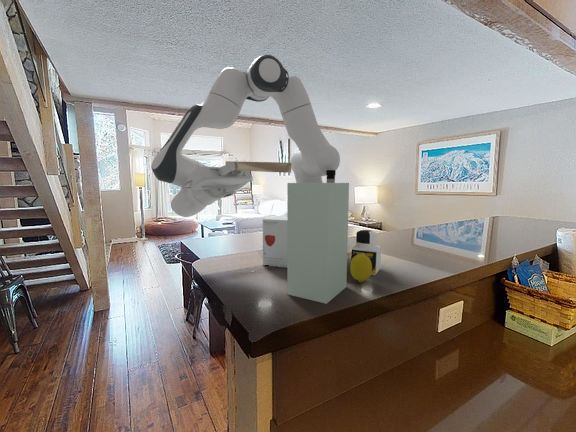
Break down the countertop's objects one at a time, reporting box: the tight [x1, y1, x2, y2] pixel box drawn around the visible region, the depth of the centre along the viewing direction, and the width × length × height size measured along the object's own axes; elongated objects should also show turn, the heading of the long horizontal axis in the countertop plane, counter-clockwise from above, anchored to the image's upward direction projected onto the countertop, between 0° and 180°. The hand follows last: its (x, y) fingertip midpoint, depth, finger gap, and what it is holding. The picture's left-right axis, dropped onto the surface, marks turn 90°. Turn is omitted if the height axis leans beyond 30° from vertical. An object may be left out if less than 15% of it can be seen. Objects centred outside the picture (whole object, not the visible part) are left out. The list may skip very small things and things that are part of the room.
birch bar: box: [225, 160, 292, 174], centre depth 77 cm, size 2×20×2 cm, turn 58°
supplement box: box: [262, 215, 287, 269], centre depth 94 cm, size 9×9×15 cm
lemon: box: [349, 253, 372, 283], centre depth 76 cm, size 6×6×8 cm
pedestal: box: [286, 182, 350, 305], centre depth 69 cm, size 12×10×26 cm
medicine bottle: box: [351, 229, 382, 276], centre depth 86 cm, size 7×7×12 cm
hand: (240, 164), depth 80 cm, fingers closed on birch bar, 2 cm apart
